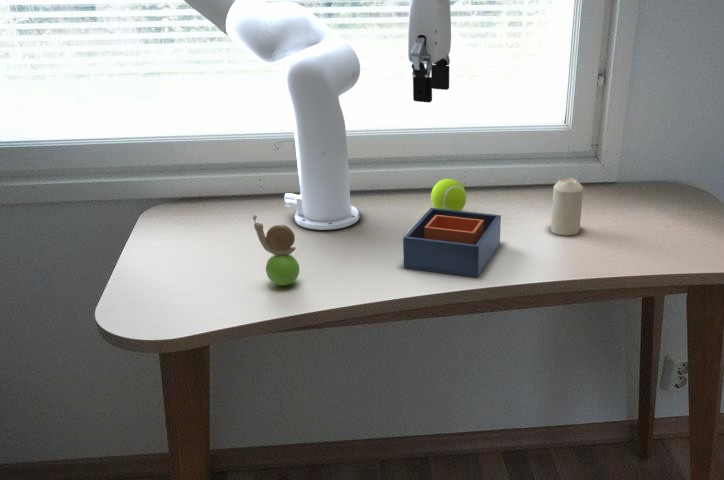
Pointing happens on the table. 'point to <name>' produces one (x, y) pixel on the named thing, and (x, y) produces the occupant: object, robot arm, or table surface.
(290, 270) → the snail figurine
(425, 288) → the table surface
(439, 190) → the tennis ball
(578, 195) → the candle
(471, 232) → the small tote
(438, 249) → the big tote
